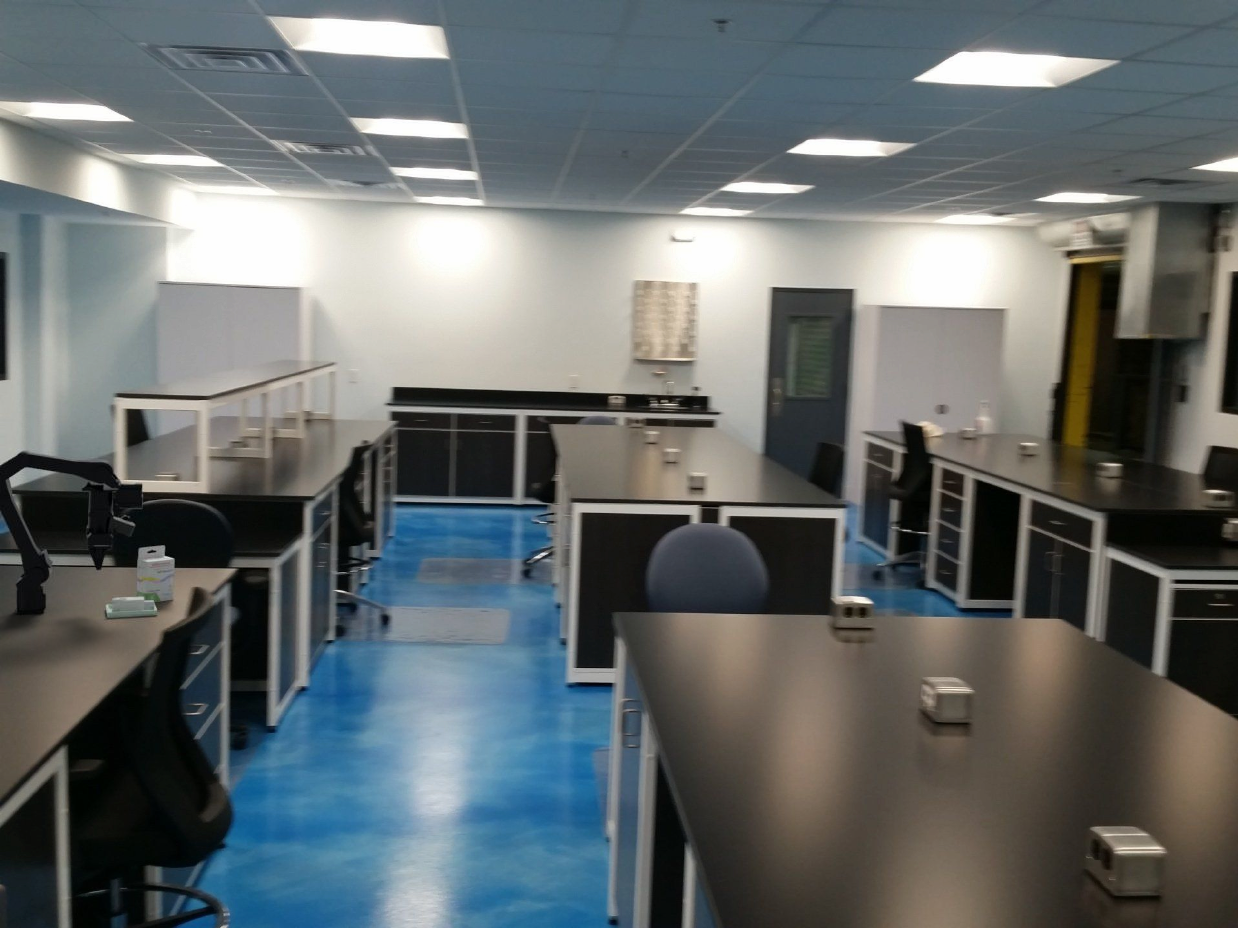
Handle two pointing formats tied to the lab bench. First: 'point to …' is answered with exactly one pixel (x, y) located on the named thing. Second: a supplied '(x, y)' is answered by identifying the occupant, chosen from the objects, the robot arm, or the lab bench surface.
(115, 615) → the tray
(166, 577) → the ink box
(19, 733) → the lab bench surface
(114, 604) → the connector
